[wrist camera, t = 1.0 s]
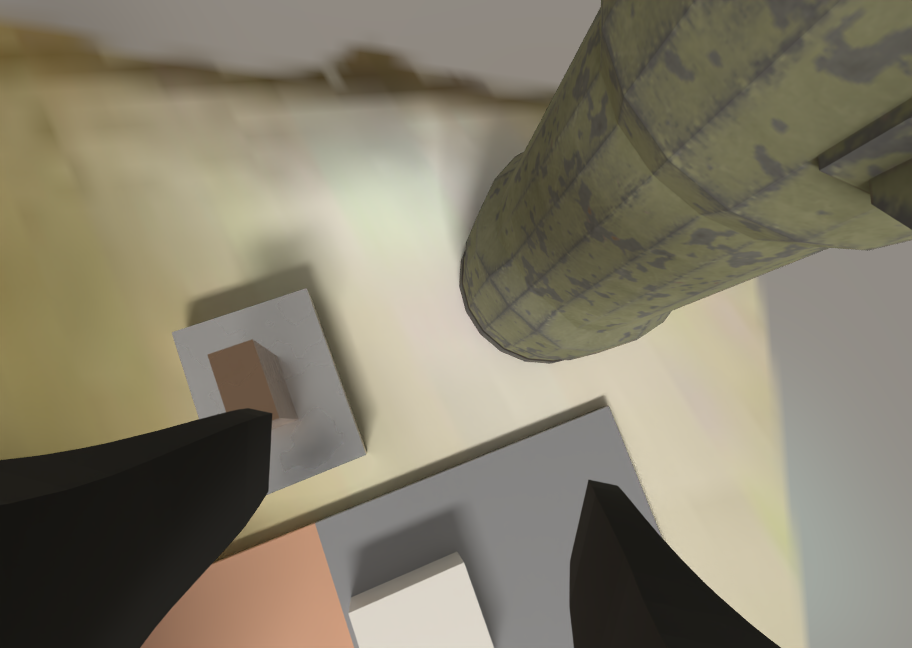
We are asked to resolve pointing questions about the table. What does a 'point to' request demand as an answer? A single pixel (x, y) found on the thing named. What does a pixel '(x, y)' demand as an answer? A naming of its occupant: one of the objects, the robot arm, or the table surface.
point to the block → (421, 610)
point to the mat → (422, 549)
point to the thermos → (693, 166)
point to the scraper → (275, 383)
